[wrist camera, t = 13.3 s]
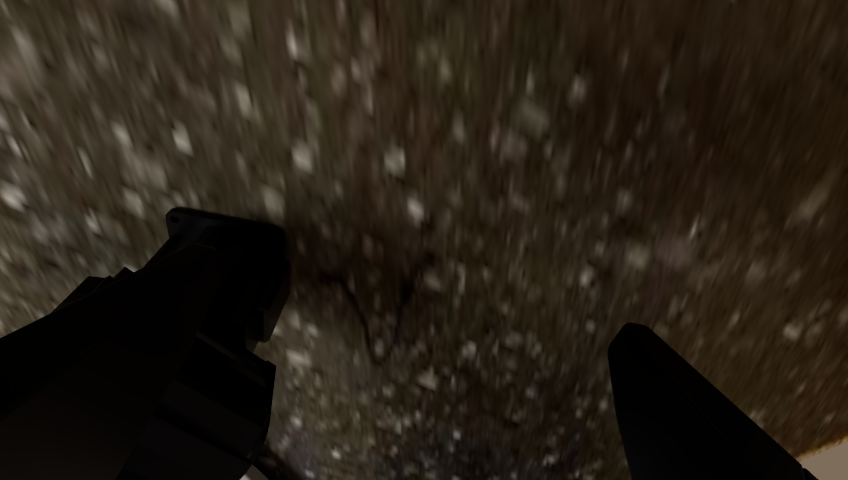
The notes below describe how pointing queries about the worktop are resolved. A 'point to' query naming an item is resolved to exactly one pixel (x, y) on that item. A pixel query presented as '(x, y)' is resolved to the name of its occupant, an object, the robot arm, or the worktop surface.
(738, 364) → the worktop surface
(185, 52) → the worktop surface
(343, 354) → the worktop surface
